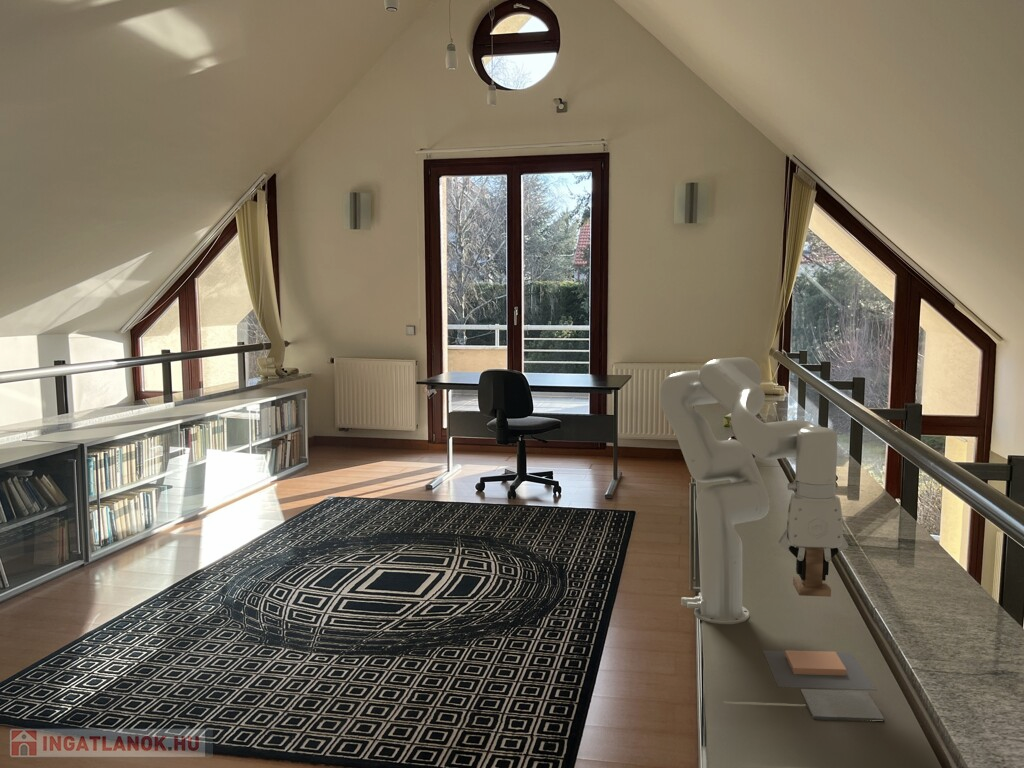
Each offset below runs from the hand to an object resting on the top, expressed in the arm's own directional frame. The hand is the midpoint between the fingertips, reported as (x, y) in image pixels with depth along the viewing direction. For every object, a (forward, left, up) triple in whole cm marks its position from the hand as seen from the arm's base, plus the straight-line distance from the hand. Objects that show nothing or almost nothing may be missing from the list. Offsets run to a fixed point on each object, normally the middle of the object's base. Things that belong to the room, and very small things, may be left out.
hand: (811, 577), depth 162 cm
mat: (0, -3, -19) cm, 19 cm away
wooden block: (0, 0, -3) cm, 3 cm away
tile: (0, +3, -17) cm, 18 cm away
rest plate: (+1, -17, -19) cm, 25 cm away
